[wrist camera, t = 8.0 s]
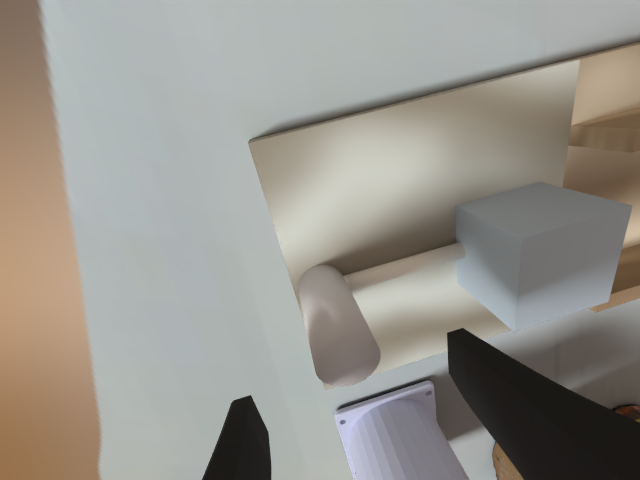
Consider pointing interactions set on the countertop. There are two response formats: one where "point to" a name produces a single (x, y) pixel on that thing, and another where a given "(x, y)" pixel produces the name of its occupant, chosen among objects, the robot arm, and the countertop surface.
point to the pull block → (481, 271)
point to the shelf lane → (450, 186)
